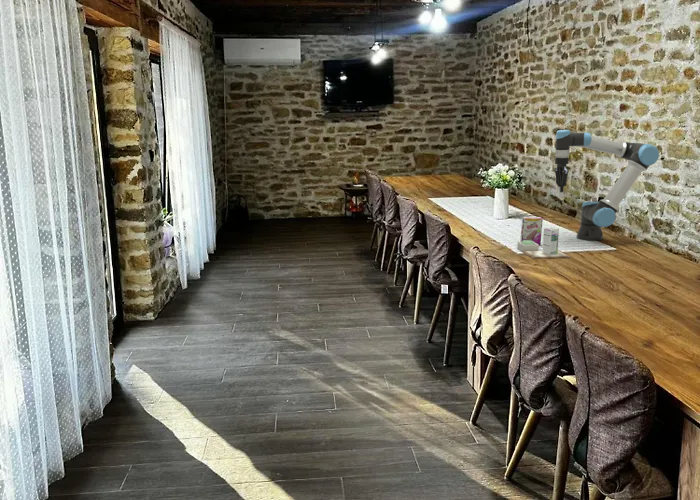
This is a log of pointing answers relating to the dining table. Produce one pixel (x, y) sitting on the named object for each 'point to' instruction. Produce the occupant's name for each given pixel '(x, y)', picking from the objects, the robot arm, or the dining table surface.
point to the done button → (528, 242)
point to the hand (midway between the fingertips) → (560, 197)
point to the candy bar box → (531, 229)
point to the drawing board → (545, 255)
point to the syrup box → (550, 240)
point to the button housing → (527, 247)
